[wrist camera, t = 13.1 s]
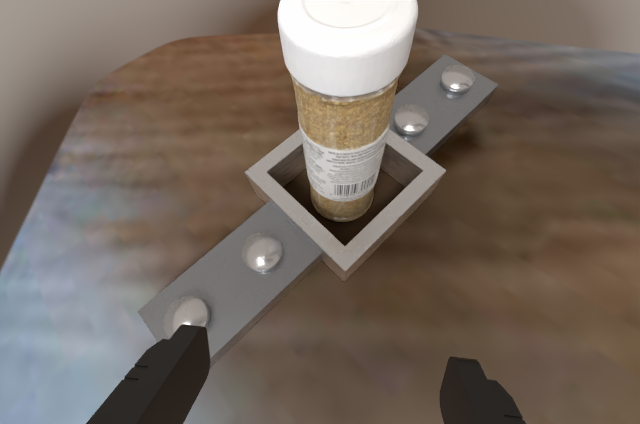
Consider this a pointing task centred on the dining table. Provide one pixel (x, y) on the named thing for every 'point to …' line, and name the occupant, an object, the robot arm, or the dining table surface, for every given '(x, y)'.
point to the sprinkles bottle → (345, 91)
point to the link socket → (344, 260)
